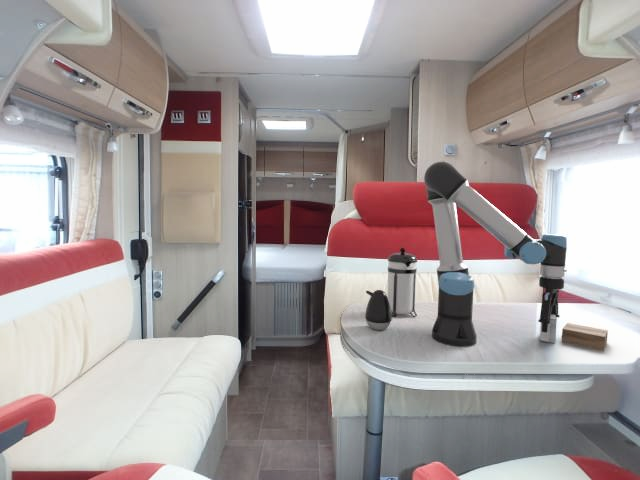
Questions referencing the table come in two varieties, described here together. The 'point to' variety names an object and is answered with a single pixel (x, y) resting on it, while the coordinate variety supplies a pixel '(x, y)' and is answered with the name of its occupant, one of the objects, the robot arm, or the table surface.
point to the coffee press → (402, 283)
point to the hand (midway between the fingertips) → (547, 337)
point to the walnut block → (584, 336)
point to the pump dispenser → (378, 310)
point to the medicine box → (552, 329)
